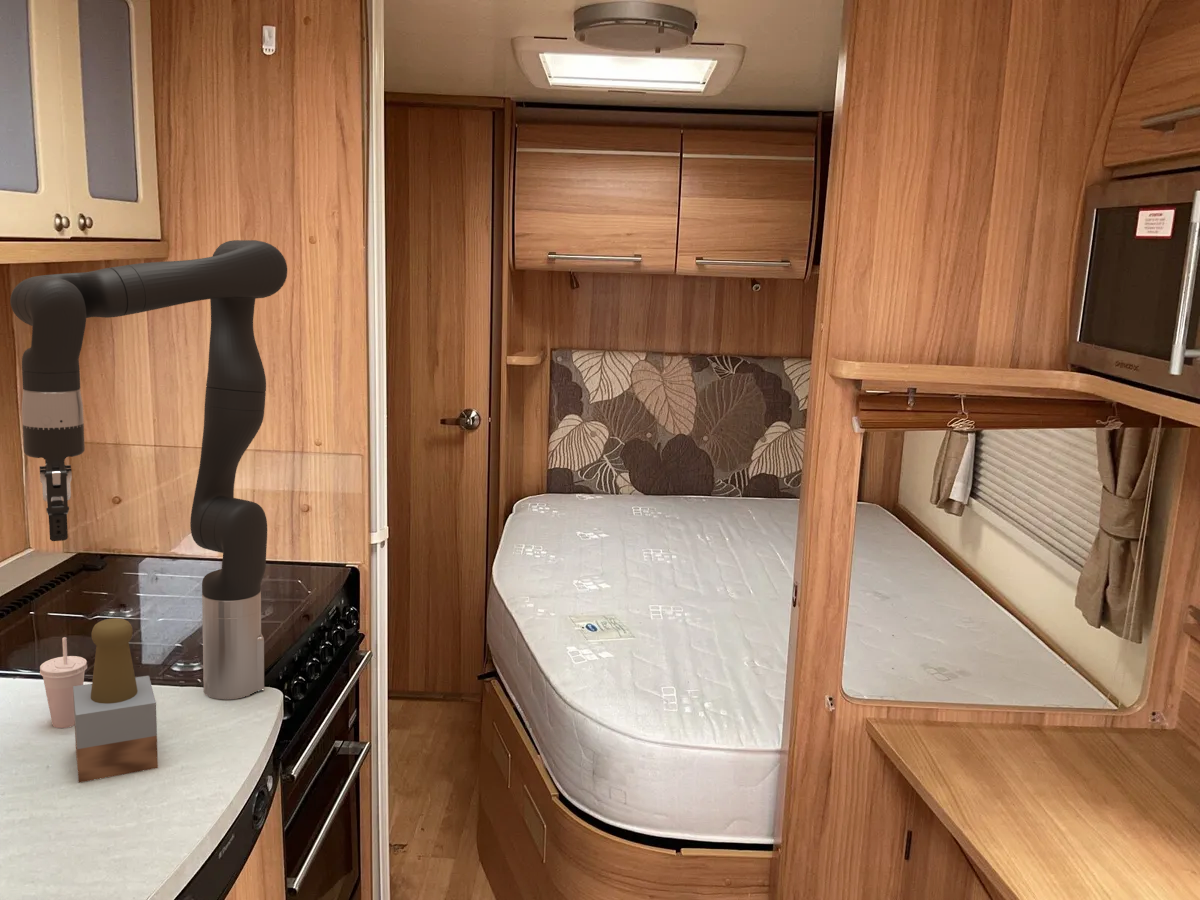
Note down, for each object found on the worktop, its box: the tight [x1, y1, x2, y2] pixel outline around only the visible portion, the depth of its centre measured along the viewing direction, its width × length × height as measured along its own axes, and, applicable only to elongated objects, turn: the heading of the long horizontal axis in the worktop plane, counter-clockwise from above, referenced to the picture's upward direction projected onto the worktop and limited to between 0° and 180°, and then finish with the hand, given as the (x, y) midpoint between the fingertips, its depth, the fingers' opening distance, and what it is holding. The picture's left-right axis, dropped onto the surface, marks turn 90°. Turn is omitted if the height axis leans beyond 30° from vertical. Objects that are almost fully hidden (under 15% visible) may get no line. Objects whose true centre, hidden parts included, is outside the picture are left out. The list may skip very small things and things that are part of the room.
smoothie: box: [39, 636, 88, 729], centre depth 149 cm, size 6×6×14 cm
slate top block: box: [73, 675, 158, 749], centre depth 139 cm, size 10×10×5 cm
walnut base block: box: [74, 729, 159, 784], centre depth 140 cm, size 10×10×5 cm
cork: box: [91, 617, 138, 704], centre depth 138 cm, size 6×6×11 cm
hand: (58, 532), depth 139 cm, fingers open, 8 cm apart
